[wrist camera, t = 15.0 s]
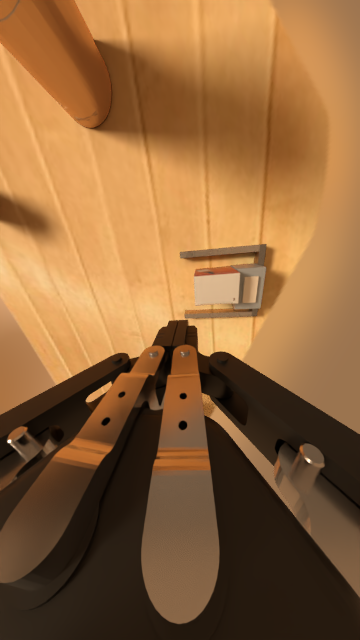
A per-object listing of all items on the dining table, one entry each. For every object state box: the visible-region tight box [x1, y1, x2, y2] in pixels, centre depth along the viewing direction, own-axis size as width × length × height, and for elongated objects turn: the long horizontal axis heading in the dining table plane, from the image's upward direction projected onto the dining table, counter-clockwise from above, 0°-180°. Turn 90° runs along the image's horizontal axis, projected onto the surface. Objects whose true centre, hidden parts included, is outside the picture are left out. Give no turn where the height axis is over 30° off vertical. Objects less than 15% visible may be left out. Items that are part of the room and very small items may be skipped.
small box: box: [194, 266, 240, 306], centre depth 31 cm, size 8×6×10 cm
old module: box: [230, 264, 266, 309], centre depth 32 cm, size 8×5×8 cm, turn 5°
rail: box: [180, 244, 266, 318], centre depth 35 cm, size 15×17×2 cm
